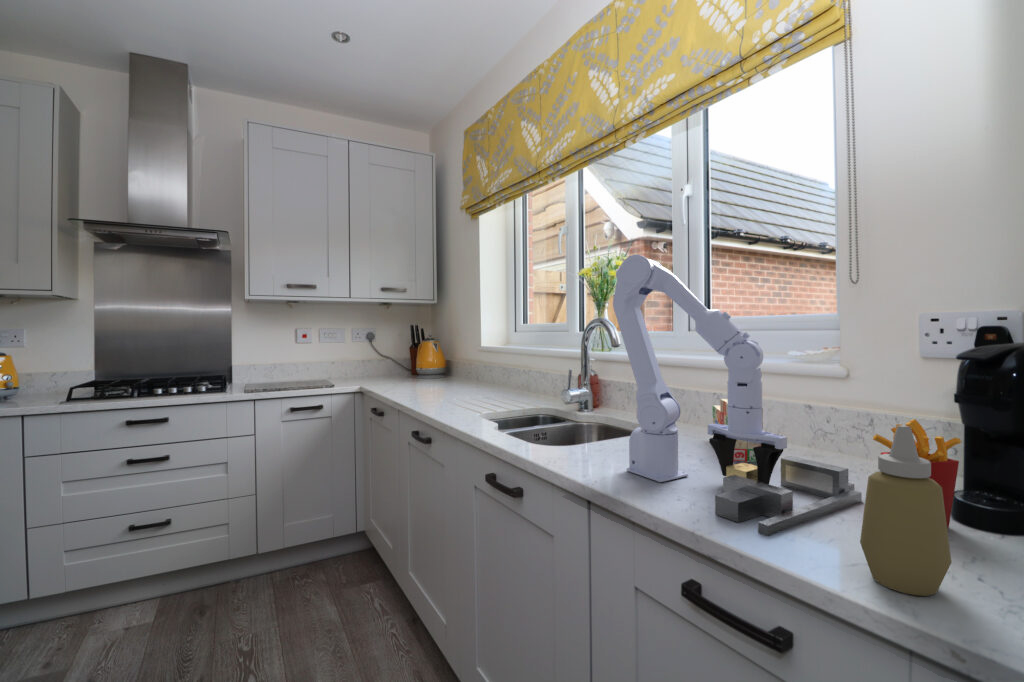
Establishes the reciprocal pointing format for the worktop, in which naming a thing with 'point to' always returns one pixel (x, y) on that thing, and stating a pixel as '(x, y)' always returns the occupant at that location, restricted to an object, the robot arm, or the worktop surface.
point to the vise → (814, 481)
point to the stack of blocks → (742, 448)
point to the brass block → (742, 471)
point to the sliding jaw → (751, 499)
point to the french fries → (933, 461)
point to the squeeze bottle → (905, 521)
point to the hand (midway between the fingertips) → (744, 480)
